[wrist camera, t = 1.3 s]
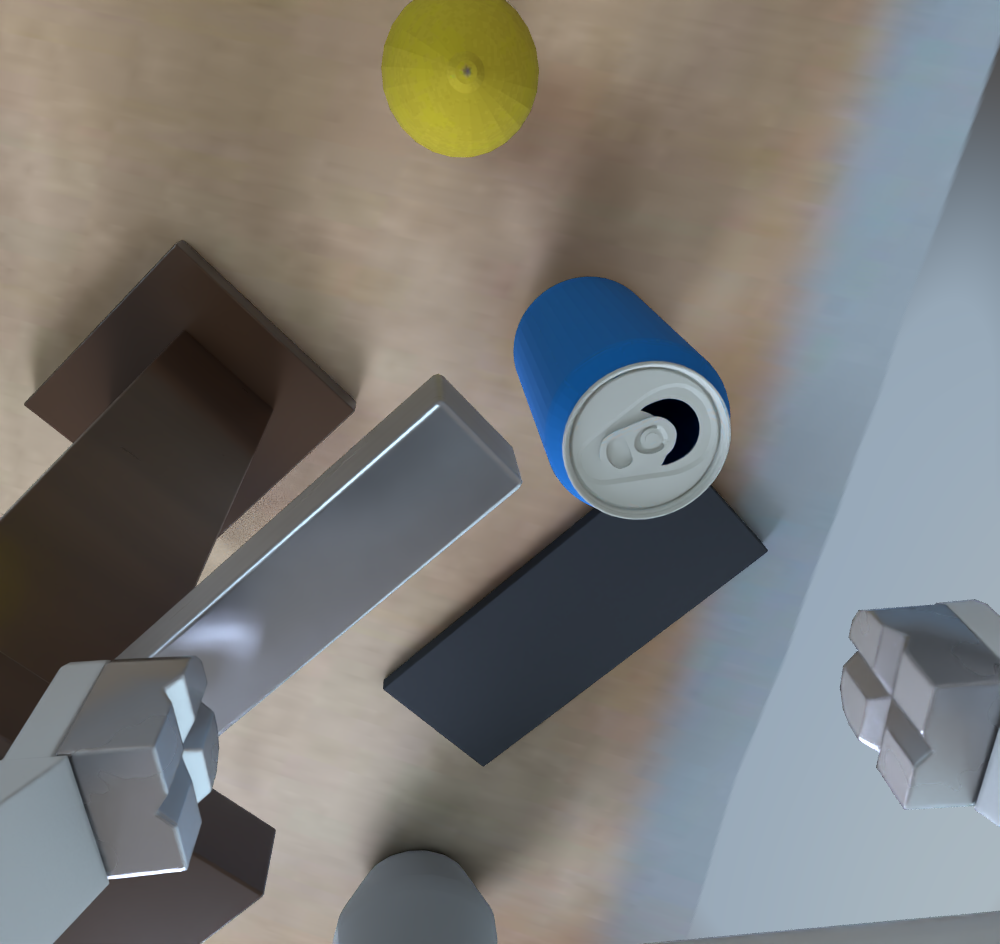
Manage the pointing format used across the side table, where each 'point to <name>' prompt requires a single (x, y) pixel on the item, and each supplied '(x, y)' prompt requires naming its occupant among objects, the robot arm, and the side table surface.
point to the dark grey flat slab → (569, 620)
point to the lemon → (460, 74)
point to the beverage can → (620, 400)
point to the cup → (416, 905)
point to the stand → (154, 534)
